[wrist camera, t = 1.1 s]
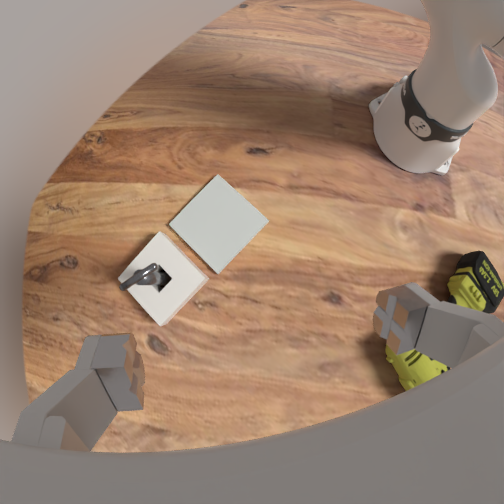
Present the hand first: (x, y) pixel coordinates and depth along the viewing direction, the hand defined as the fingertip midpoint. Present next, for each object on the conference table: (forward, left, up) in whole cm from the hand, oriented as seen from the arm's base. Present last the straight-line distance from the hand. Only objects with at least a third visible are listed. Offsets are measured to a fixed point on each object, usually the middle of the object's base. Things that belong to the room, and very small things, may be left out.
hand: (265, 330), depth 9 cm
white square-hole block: (+10, -13, -36) cm, 39 cm away
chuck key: (+10, -13, -36) cm, 39 cm away
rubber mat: (-3, -13, -36) cm, 38 cm away
